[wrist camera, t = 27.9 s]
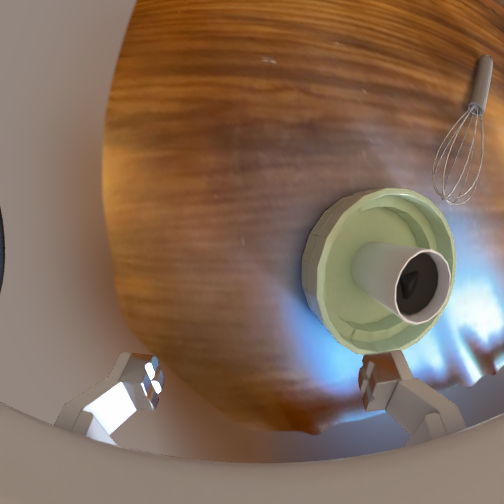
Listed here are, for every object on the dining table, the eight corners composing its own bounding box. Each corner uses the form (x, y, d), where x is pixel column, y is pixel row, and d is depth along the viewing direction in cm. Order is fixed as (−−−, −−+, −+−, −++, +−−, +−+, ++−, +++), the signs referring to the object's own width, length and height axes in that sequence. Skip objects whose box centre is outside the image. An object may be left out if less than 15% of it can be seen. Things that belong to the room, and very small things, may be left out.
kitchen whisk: (493, 69, 31) (515, 60, 24) (441, 214, 33) (473, 216, 27) (472, 44, 30) (493, 32, 24) (412, 185, 32) (444, 182, 26)
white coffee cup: (353, 303, 32) (398, 336, 22) (341, 247, 31) (388, 263, 21) (400, 284, 33) (452, 307, 23) (391, 231, 32) (446, 239, 22)
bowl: (375, 356, 34) (397, 377, 28) (268, 289, 32) (279, 306, 26) (444, 246, 33) (474, 252, 28) (355, 160, 31) (381, 151, 25)
